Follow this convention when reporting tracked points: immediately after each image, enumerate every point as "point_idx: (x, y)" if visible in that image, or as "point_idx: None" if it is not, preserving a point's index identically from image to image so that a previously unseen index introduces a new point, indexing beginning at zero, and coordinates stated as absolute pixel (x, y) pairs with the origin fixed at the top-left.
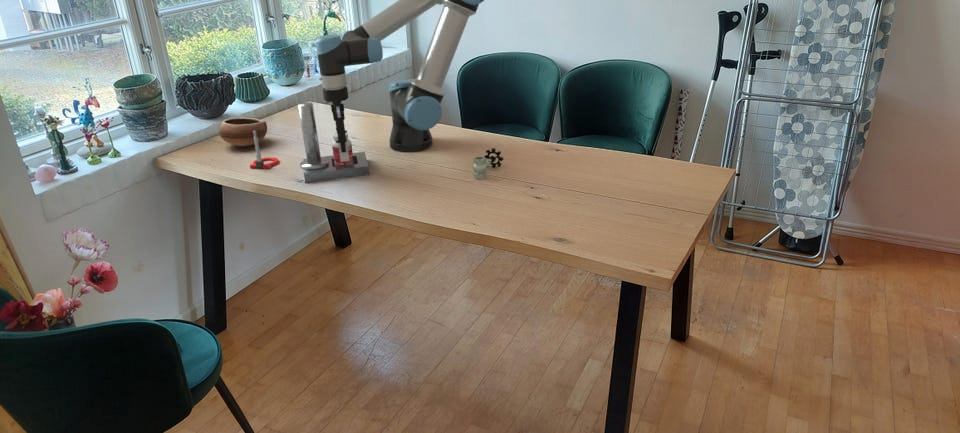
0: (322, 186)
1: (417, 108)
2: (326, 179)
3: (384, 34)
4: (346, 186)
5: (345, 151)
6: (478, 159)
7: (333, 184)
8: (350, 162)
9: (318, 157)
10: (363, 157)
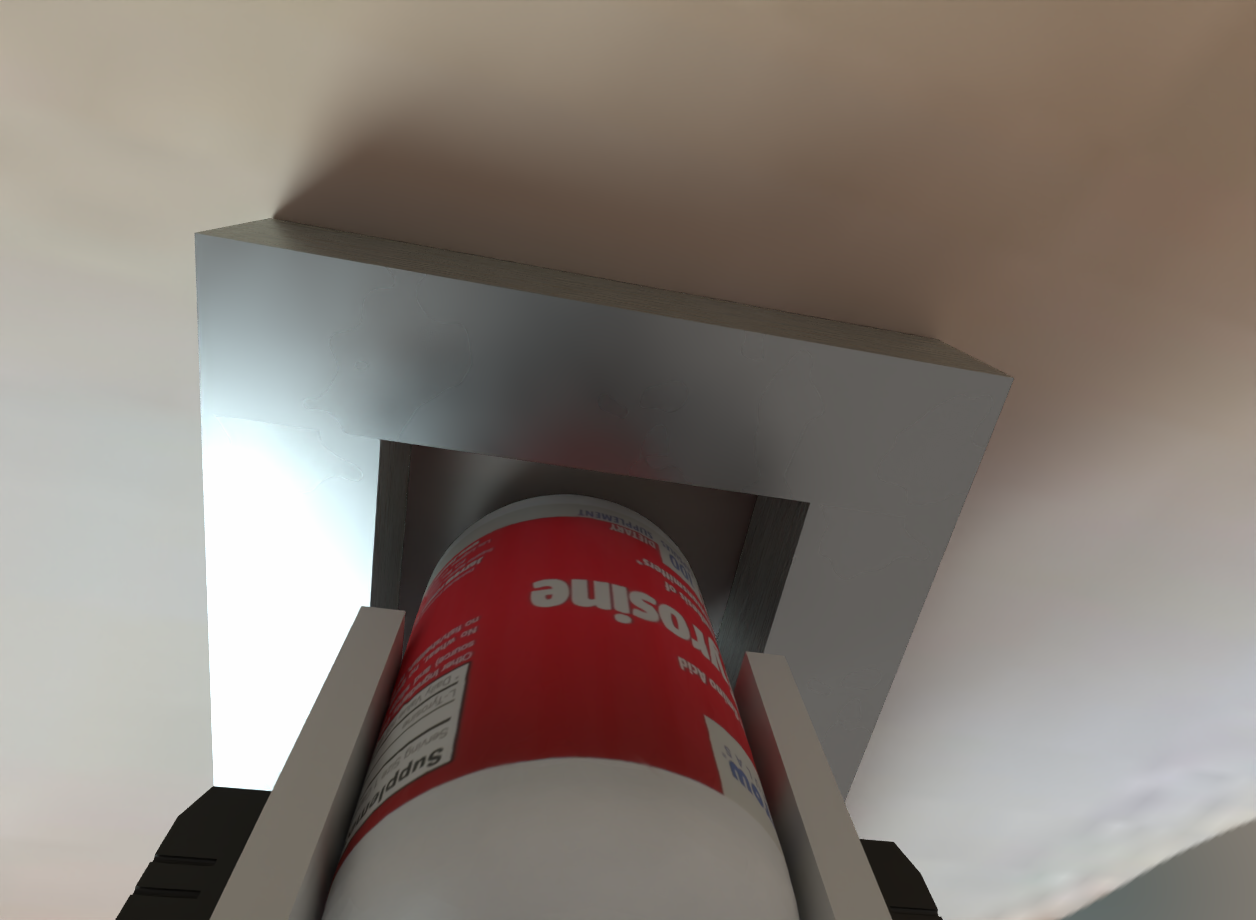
0: (915, 841)
1: None
2: None
3: None
4: (1088, 658)
5: (904, 867)
6: None
7: (938, 755)
8: (698, 596)
9: None
10: (542, 344)
